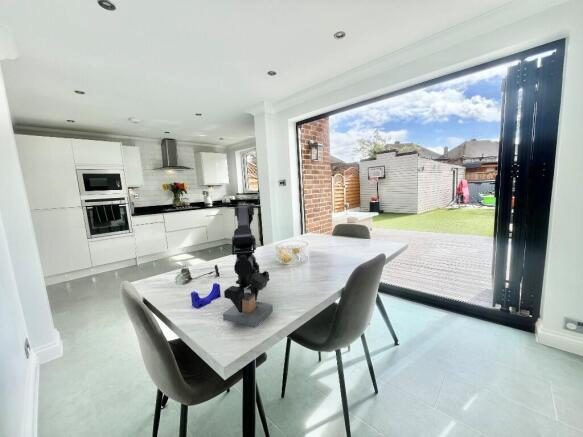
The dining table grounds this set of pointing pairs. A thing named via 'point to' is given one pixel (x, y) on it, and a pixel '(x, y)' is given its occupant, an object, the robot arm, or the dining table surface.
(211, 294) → the cable clip
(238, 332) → the dining table surface
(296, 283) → the dining table surface
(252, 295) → the tan upright block
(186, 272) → the artificial flower
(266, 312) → the socket plate
